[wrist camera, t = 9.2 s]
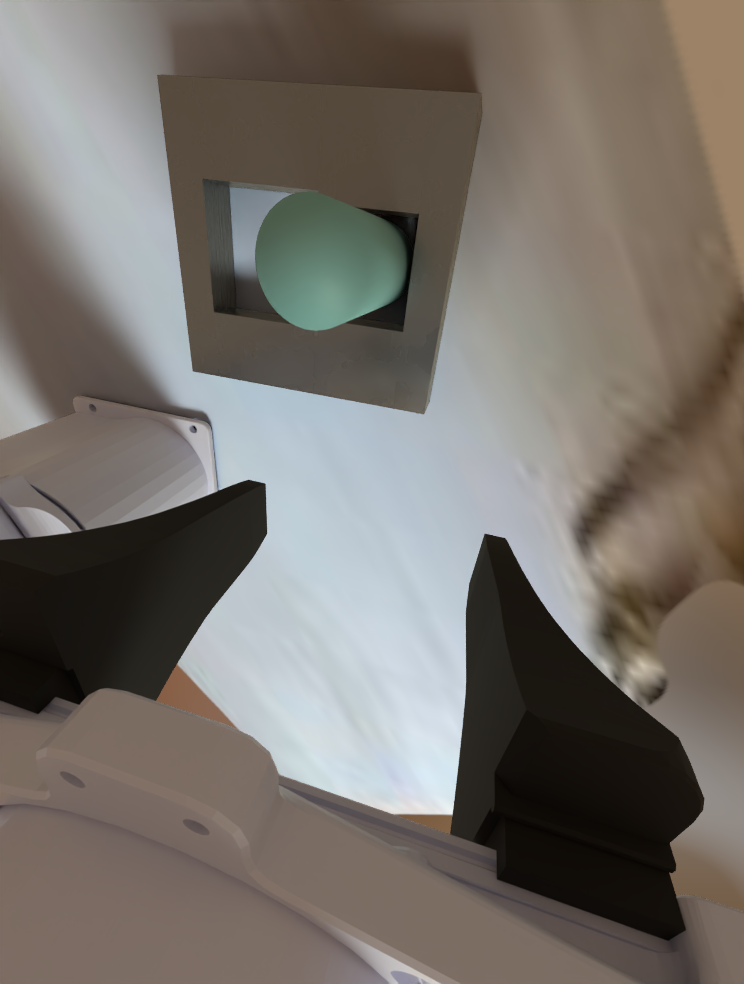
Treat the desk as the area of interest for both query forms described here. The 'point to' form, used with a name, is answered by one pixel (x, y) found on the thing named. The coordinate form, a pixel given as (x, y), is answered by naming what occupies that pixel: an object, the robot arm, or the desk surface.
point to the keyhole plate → (335, 173)
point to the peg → (329, 261)
